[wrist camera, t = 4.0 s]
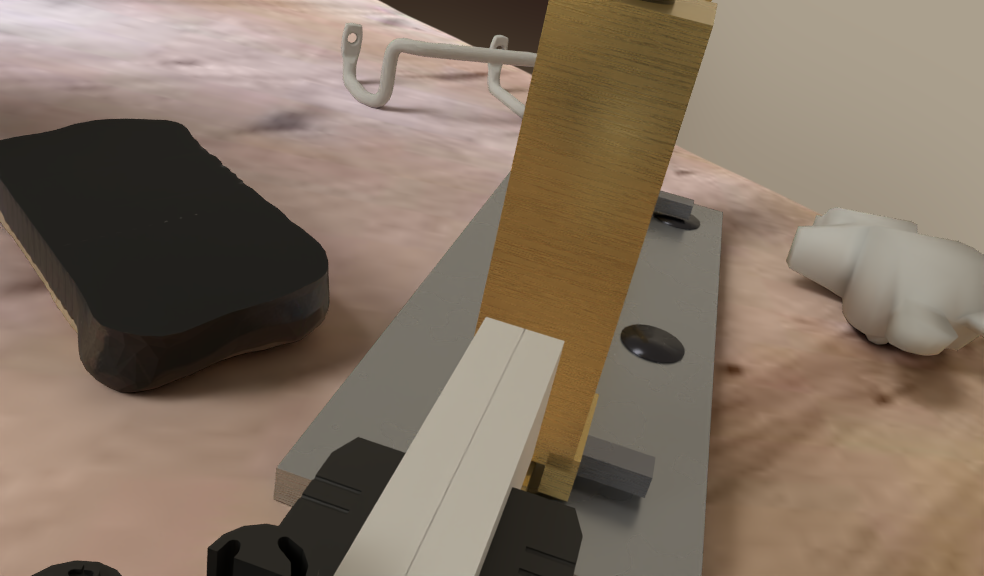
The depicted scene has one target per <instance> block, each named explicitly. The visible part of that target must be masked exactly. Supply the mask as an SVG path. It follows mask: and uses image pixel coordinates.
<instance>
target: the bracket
mask: <svg viewBox="0 0 984 576" xmlns="http://www.w3.org/2000/svg"><path fill="white" fill-rule="evenodd" d="M351 33H355V34H356V36H357V39H356V41H355V42H353V43H350V42H348V40H347V38H348V36H349V34H351ZM361 43H362V25H360V24H355V23H346V24H345V28H344V32H343V36H342V46H341V49H342V57H343V81H344V85H345V86H346V88H347V89H348V90H349V91H350V93H351V94H352V95H353V97H354V98H355V99H356V100H357V101H359V102H360V103H362V104H365V105H367V106H369V107H373V108H379V107H382V106H384V105H385V104H386V103H387V102H388V101H389V99H390V97H391V95H392V91H393V87H394V80H395V73H396V66H397V61H398V57H399V54H400V53H401V52H403V53H408V54H412V55H418V56H424V57H432V58H442V59H452V60H462V61H473V62H483V63H488V88H489V91H490V93H491V94H492V95H494V96H495V97H496V98H497V99H499V100H500V101H501V102H502V103H504V104H505V105H506V106H507V107H508V108H510V109H511V110H512V111H513V112H515V113H516V114H517V115H518V116H519V117H521V118H522V119H523V115H524V110H525V105H523V104H522V103H521V102H520V101H518V100H517V99H516V98H515V97H514V96H512V95H511V94H510V93H508V92H507V91H506V90H504V89H503V88H502V87H501V86H500V71H501V68H502V65H503V64H506V65H518V66H530V67H534V66H535V61H536V57H537V54H535V53H528V52H519V51H509V50H507V47H508V38H507V37H504V36H502V35H497V36H495V37H494V38H493V40H492V43H491V46H490V48H480V47H471V46H459V45H452V44H443V43H429V42H424V41H417V40H412V39H408V38H398V39H395V40H393V41H392V42H391V43H390V44H389V45H388V46H387V48H386V51H385V55H384V60H383V66H382V72H381V80H380V85H379V90H378V92H377V93H376V94H371V93H369V92H367V91H366V90H365V89H364V88H363V86H362V85H361V84H360V83H359V82H358V81H357V80H356V64H357V60H358V56H359V53H360V49H361ZM497 46H502V50H500V49H496V47H497Z"/></svg>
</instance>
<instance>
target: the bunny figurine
mask: <svg viewBox="0 0 984 576" xmlns="http://www.w3.org/2000/svg"><path fill="white" fill-rule="evenodd" d="M786 261H787V263H788V266H789V268H790V269H792V270H794V271H796V272H798V273H799V274H801V275H803V276H805V277H807V278H809V279H810V280H812V281H814V282H816V283H818V284H820V285H821V286H823V287H825V288H827V289H829V290H830V291H832V292H833V293H835V294H836V295H838V296H839V297H841V298H842V303H843V314H844V316H845V317H846V319H847V321H848V322H849V323H850V324H851V325H852V326H853V327H854V328H856V329H858V330H859V331H861V332H862V333H864V334H866V336H867V338H868V340H869V341H871V342H873V343H875V344H878V345H879V344H887V343H888V342H889V343H890V344H892V345H894V346H896V347H897V348H899V349H901V350H903V351H907V352H910V353H914V354H918V355H937V354H939V353H940V352H941V351H943V350H944V349H945V348H946V349H952V350H957V351H958V350H959V349H961V348H962V347H964V346H965V345H967V344H968V343H970V342H971V341H973V340H974V339H976V338H977V337H979V336H982V337H984V255H983V254H981V253H980V252H979V251H977V250H976V249H974V248H973V247H970V246H968V245H966V244H963V243H961V242H959V241H954V240H949V239H944V238H938V237H933V236H928V235H923V234H918V233H917V224H915V223H913V222H911V221H906V220H901V219H895V218H890V217H885V216H880V215H874V214H869V213H864V212H859V211H854V210H848V209H843V208H838V207H835V208H833V209H830V210H828V211H827V212H826V213H825V214H824V215H823V216H820V215H816V218H815V221H814V223H813V226H798V229H797V232H796V234H795V237H794V240H793V243H792V246H791V249H790V251H789V254H788V257H787V260H786Z"/></svg>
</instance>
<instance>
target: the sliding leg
mask: <svg viewBox="0 0 984 576" xmlns="http://www.w3.org/2000/svg"><path fill="white" fill-rule="evenodd" d="M716 8H717V3H713V2H709V1H705V0H549V3H548V7H547V12H546V16H545V21H544V26H543V30H542V34H541V39H540V43H539V48H538V52H537V57H536V61H535V66H534V70H533V74H532V79H531V83H530V88H529V92H528V97H527V101H526V106H525V110H524V115H523V119H522V124H521V128H520V133H519V137H518V142H517V146H516V151H515V155H514V160H513V164H512V169H511V173H510V178H509V182H508V186H507V191H506V195H505V200H504V204H503V209H502V213H501V218H500V222H499V227H498V231H497V236H496V240H495V245H494V249H493V254H492V258H491V263H490V267H489V272H488V276H487V281H486V285H485V290H484V294H483V299H482V303H481V307H480V312H479V316H478V321H477V325H476V330H475V334H474V336H475V335H476V333H477V331H478V330H479V328H480V326H481V325H482V323H483V321H484V319H485V318H486V317H488V318H492V319H495V320H498V321H501V322H505V323H508V324H511V325H514V326H518V327H521V328H524V329H527V330H530V331H534V332H537V333H540V334H543V335H547V336H550V337H553V338H556V339H560V340H563V341H565V342H564V346H563V349H562V353H561V356H560V360H559V363H558V367H557V371H556V374H555V378H554V381H553V385H552V389H551V392H550V396H549V399H548V403H547V407H546V410H545V414H544V417H543V421H542V424H541V428H540V432H539V435H538V439H537V442H536V446H535V450H534V453H533V457H532V460H531V461H534V462H537V463H540V464H543V465H545V468H544V472H543V475H542V478H541V482H540V485H539V488H538V492H541V493H544V494H547V495H550V496H553V497H555V498H558V499H561V500H564V501H567V502H568V499H569V496H570V492H571V489H572V486H573V483H574V480H575V477H576V475H578V476H581V477H584V478H587V479H590V480H593V481H596V482H599V483H602V484H605V485H608V486H611V487H613V488H616V489H619V490H622V491H625V492H628V493H631V494H634V495H637V496H640V497H643V498H645V496H646V494H647V491H648V489H649V486H650V483H651V481H652V478H653V472H654V465H655V458H656V457H653V456H650V455H647V454H644V453H641V452H638V451H635V450H632V449H629V448H626V447H623V446H620V445H617V444H614V443H611V442H608V441H605V440H602V439H599V438H596V437H593V436H590V435H588V433H589V429H590V426H591V422H592V419H593V415H594V411H595V408H596V404H597V400H598V397H599V394H597V393H595V392H596V388H597V385H598V382H599V379H600V376H601V373H602V370H603V367H604V364H605V360H606V357H607V354H608V351H609V348H610V345H611V342H612V339H613V336H614V332H615V329H616V326H617V323H618V320H619V317H620V314H621V311H622V308H623V304H624V301H625V298H626V295H627V292H628V289H629V286H630V283H631V280H632V276H633V273H634V270H635V267H636V264H637V261H638V258H639V255H640V252H641V248H642V245H643V242H644V239H645V236H646V233H647V230H648V227H649V224H650V221H651V217H652V214H653V211H654V208H655V205H656V202H657V199H658V196H659V193H660V189H661V186H662V183H663V180H664V177H665V174H666V171H667V168H668V165H669V161H670V158H671V155H672V152H673V149H674V146H675V143H676V140H677V137H678V133H679V130H680V127H681V124H682V121H683V118H684V115H685V112H686V108H687V105H688V102H689V99H690V96H691V93H692V90H693V87H694V84H695V81H696V77H697V74H698V71H699V68H700V65H701V62H702V59H703V56H704V52H705V49H706V46H707V43H708V40H709V37H710V34H711V31H712V27H713V24H714V19H715V14H716Z"/></svg>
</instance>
